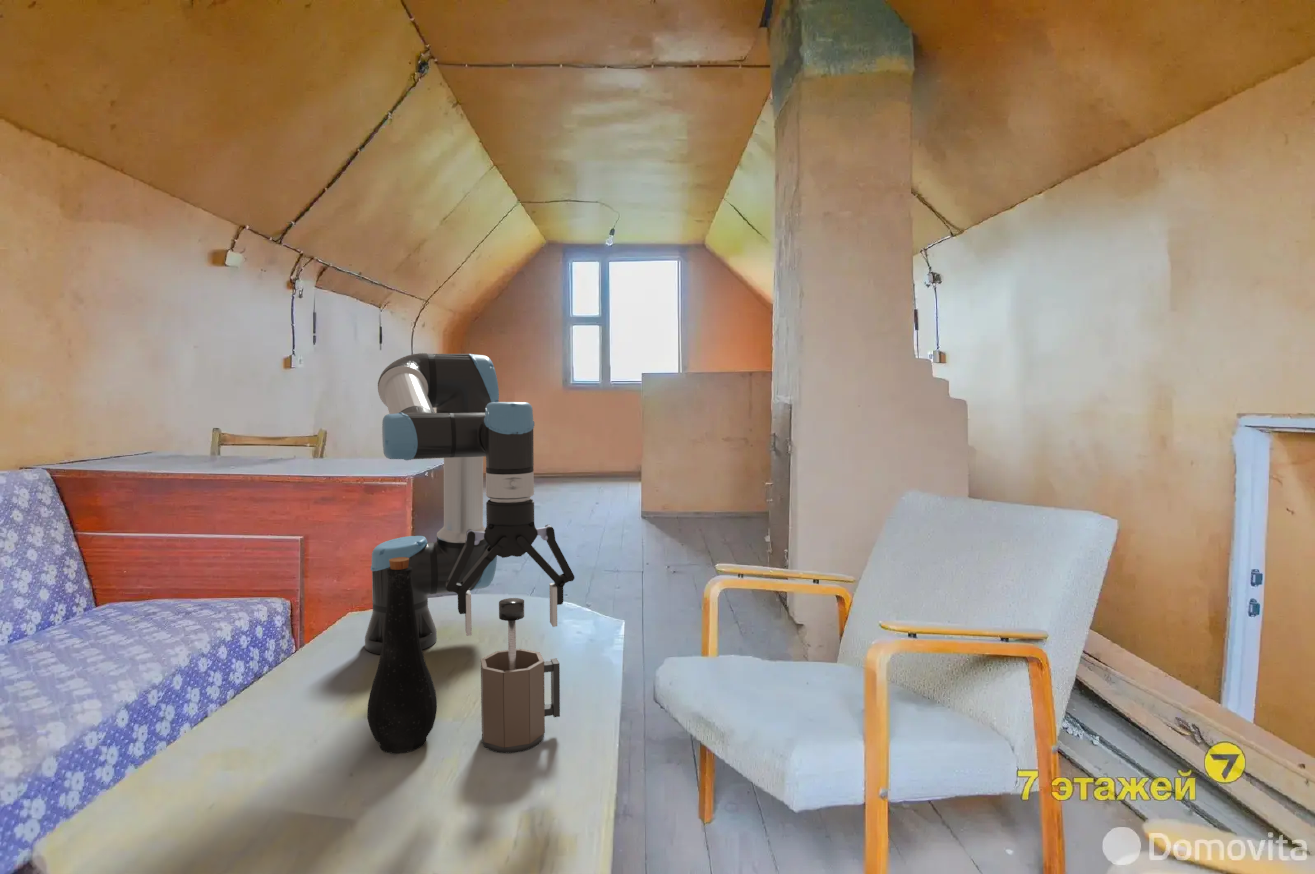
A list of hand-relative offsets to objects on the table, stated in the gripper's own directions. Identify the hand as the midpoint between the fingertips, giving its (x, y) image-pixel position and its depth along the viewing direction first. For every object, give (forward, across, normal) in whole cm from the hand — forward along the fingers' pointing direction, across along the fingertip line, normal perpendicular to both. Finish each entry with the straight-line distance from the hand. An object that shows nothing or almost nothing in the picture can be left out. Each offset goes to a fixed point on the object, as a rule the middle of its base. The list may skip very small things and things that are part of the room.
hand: (511, 628), depth 117 cm
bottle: (+18, -17, +4) cm, 25 cm away
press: (+18, +1, 0) cm, 18 cm away
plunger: (+16, 0, 0) cm, 16 cm away
